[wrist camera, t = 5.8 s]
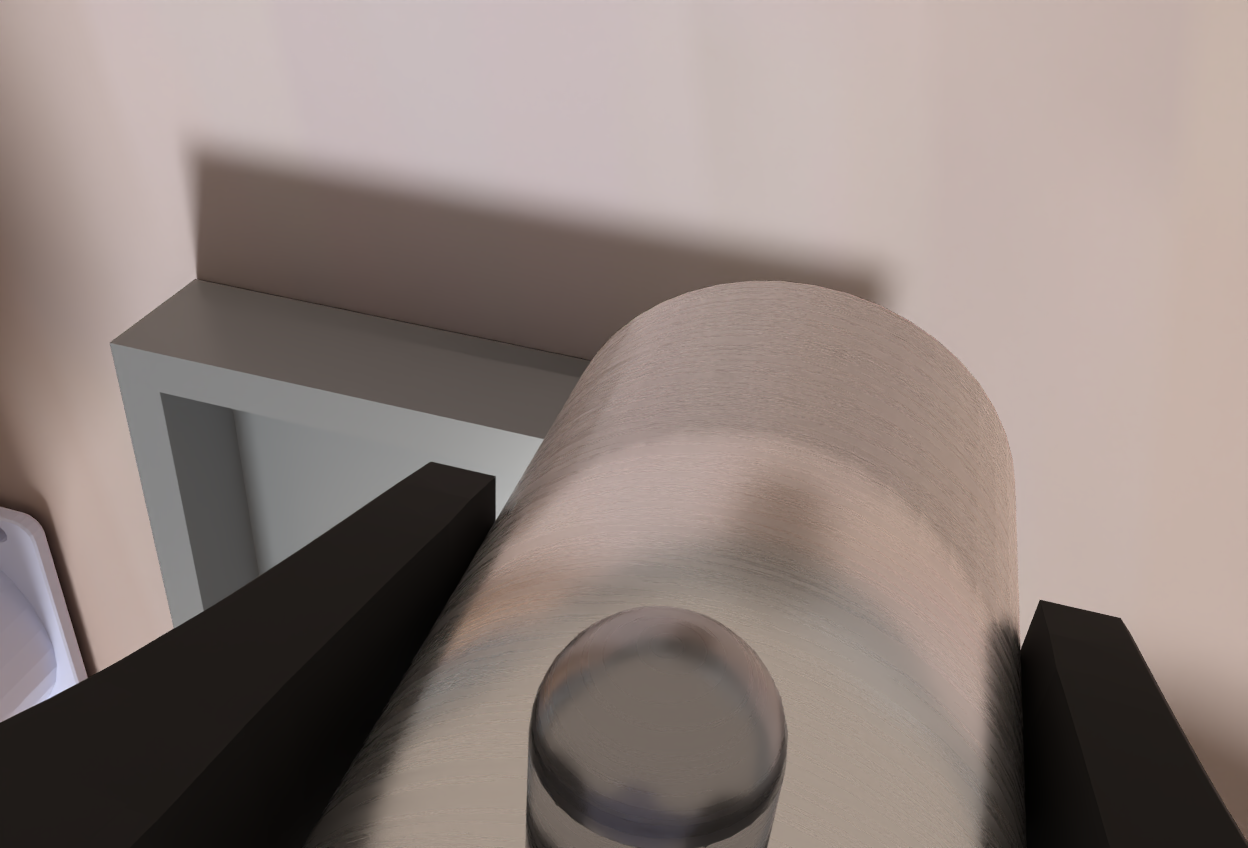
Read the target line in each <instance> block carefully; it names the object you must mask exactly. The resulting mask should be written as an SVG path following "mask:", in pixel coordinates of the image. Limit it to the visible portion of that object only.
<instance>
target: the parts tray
mask: <svg viewBox="0 0 1248 848" xmlns="http://www.w3.org/2000/svg"><path fill="white" fill-rule="evenodd" d="M110 346H111V351H112V355H113V360H114V364H115V369H116V373H117V378H118V382H119V387H120V391H121V395H122V400H123V404H124V409H125V413H126V418H127V422H128V427H129V431H130V435H131V440H132V444H133V449H134V453H135V458H136V462H137V467H138V471H139V476H140V480H141V484H142V489H143V493H144V498H145V502H146V507H147V511H148V516H149V520H150V524H151V529H152V533H153V538H154V542H155V547H156V551H157V556H158V560H159V565H160V569H161V573H162V578H163V582H164V587H165V591H166V596H167V600H168V605H169V609H170V613H171V618H172V622H173V627H174V628H176V627H178V626H179V625H181V624H183V623H184V622H186V621H188V620H189V619H191V618H193V617H194V616H196V615H198V614H199V613H201V612H203V611H205V610H206V609H208V608H210V607H211V606H213V605H215V604H216V603H218V602H219V601H221V600H223V599H224V598H226V597H227V596H229V595H231V594H232V593H234V592H235V591H237V590H238V589H240V588H241V587H243V586H244V585H246V584H247V583H249V582H251V581H252V580H254V579H255V578H257V577H258V576H260V575H261V574H263V573H264V572H266V571H267V570H269V569H271V568H272V567H274V566H275V565H277V564H278V563H280V562H281V561H283V560H284V559H286V558H287V557H289V556H291V555H292V554H294V553H295V552H297V551H298V550H300V549H301V548H303V547H304V546H306V545H307V544H309V543H310V542H312V541H313V540H315V539H316V538H318V537H319V536H320V535H322V534H323V533H325V532H326V531H328V530H329V529H331V528H332V527H334V526H335V525H337V524H338V523H340V522H341V521H343V520H344V519H346V518H347V517H348V516H350V515H351V514H353V513H354V512H356V511H357V510H359V509H360V508H362V507H363V506H365V505H366V504H367V503H369V502H370V501H372V500H373V499H375V498H376V497H378V496H379V495H381V494H382V493H384V492H385V491H387V490H388V489H390V488H391V487H392V486H394V485H395V484H397V483H398V482H400V481H402V480H403V479H405V478H406V477H408V476H409V475H411V474H412V473H414V472H415V471H417V470H418V469H420V468H422V467H423V466H425V465H426V464H428V463H429V462H436V463H440V464H444V465H449V466H453V467H458V468H462V469H466V470H471V471H475V472H480V473H484V474H488V475H493V476H496V519H497V518H498V516H499V514H500V512H501V511H502V509H503V507H504V506H505V504H506V502H507V501H508V499H509V497H510V496H511V494H512V492H513V490H514V489H515V487H516V485H517V484H518V482H519V480H520V479H521V477H522V475H523V474H524V472H525V470H526V469H527V467H528V465H529V463H530V462H531V460H532V458H533V457H534V455H535V453H536V452H537V450H538V448H539V447H540V445H541V443H542V442H543V440H544V438H545V436H546V435H547V433H548V431H549V430H550V428H551V426H552V425H553V423H554V421H555V420H556V418H557V416H558V415H559V413H560V411H561V409H562V408H563V406H564V404H565V403H566V401H567V399H568V398H569V396H570V394H571V393H572V391H573V389H574V388H575V386H576V384H577V382H578V381H579V379H580V377H581V376H582V374H583V372H584V371H585V369H586V368H587V366H588V365H589V364H590V362H591V361H589V360H584V359H579V358H574V357H569V356H565V355H560V354H555V353H550V352H545V351H540V350H536V349H531V348H526V347H521V346H516V345H511V344H507V343H502V342H497V341H492V340H487V339H482V338H478V337H473V336H468V335H463V334H458V333H453V332H449V331H444V330H439V329H434V328H429V327H424V326H420V325H415V324H410V323H405V322H400V321H395V320H391V319H386V318H381V317H376V316H371V315H366V314H362V313H357V312H352V311H347V310H342V309H337V308H333V307H328V306H323V305H318V304H313V303H308V302H303V301H299V300H294V299H289V298H284V297H279V296H274V295H270V294H265V293H260V292H255V291H250V290H245V289H241V288H236V287H231V286H226V285H221V284H216V283H212V282H207V281H202V280H197V279H195V280H193V281H192V282H191V283H189V284H188V285H187V286H185V287H184V288H183V289H181V290H180V291H179V292H177V293H176V294H175V295H173V296H172V297H171V298H169V299H168V300H167V301H165V302H164V303H162V304H161V305H160V306H158V307H157V308H156V309H154V310H153V311H152V312H150V313H149V314H148V315H146V316H145V317H144V318H142V319H141V320H140V321H138V322H137V323H136V324H134V325H133V326H132V327H130V328H129V329H128V330H126V331H125V332H124V333H122V334H121V335H120V336H118V337H117V338H116V339H114V340H113V341H112V342H110Z"/></svg>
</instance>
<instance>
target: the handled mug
mask: <svg viewBox="0 0 1248 848" xmlns="http://www.w3.org/2000/svg"><path fill="white" fill-rule="evenodd" d="M302 848H1027V842H1026V810H1025V779H1024V747H1023V716H1022V684H1021V653H1020V621H1019V590H1018V559H1017V527H1016V496H1015V478H1014V467H1013V459H1012V455H1011V451H1010V447H1009V443H1008V440H1007V436H1006V433H1005V430H1004V428H1003V426H1002V424H1001V421H1000V419H999V417H998V414H997V412H996V410H995V408H994V406H993V405H992V403H991V401H990V400H989V398H988V397H987V395H986V393H985V392H984V390H983V389H982V387H981V386H980V384H979V383H978V381H977V380H976V379H975V378H974V377H973V376H972V374H971V373H970V372H969V371H968V370H967V369H966V367H965V366H964V365H963V364H962V363H961V362H960V360H959V359H958V358H956V357H955V356H954V355H953V354H952V353H951V352H950V351H949V350H948V349H946V348H945V347H944V346H943V345H942V344H941V343H940V342H939V341H937V340H936V339H935V338H934V337H932V336H931V335H929V334H928V333H926V332H925V331H924V330H922V329H921V328H919V327H918V326H916V325H915V324H913V323H912V322H910V321H909V320H907V319H905V318H903V317H901V316H900V315H898V314H896V313H894V312H892V311H890V310H888V309H886V308H884V307H882V306H880V305H878V304H875V303H873V302H870V301H867V300H865V299H862V298H859V297H857V296H854V295H851V294H849V293H845V292H841V291H837V290H833V289H829V288H825V287H821V286H817V285H810V284H802V283H794V282H786V281H744V282H735V283H727V284H718V285H714V286H710V287H706V288H702V289H698V290H694V291H690V292H687V293H684V294H682V295H679V296H677V297H674V298H672V299H669V300H667V301H664V302H661V303H660V304H658V305H656V306H654V307H653V308H651V309H649V310H647V311H645V312H644V313H642V314H640V315H638V316H637V317H635V318H634V319H633V320H631V321H630V322H629V323H628V324H626V325H625V326H624V327H622V328H621V329H620V330H619V331H617V332H616V333H615V334H614V335H613V336H612V337H611V338H610V339H609V340H608V341H607V342H606V343H605V344H604V345H603V347H602V348H601V349H600V350H599V351H598V352H597V353H596V355H595V356H594V358H593V359H592V361H591V362H590V364H589V365H588V366H587V368H586V369H585V371H584V372H583V374H582V376H581V377H580V379H579V381H578V382H577V384H576V386H575V388H574V389H573V391H572V393H571V394H570V396H569V398H568V399H567V401H566V403H565V404H564V406H563V408H562V409H561V411H560V413H559V415H558V416H557V418H556V420H555V421H554V423H553V425H552V426H551V428H550V430H549V431H548V433H547V435H546V436H545V438H544V440H543V442H542V443H541V445H540V447H539V448H538V450H537V452H536V453H535V455H534V457H533V458H532V460H531V462H530V463H529V465H528V467H527V469H526V470H525V472H524V474H523V475H522V477H521V479H520V480H519V482H518V484H517V485H516V487H515V489H514V490H513V492H512V494H511V496H510V497H509V499H508V501H507V502H506V504H505V506H504V507H503V509H502V511H501V512H500V514H499V516H498V518H497V519H496V521H495V523H494V524H493V526H492V528H491V529H490V531H489V533H488V534H487V536H486V538H485V539H484V541H483V543H482V545H481V546H480V548H479V550H478V551H477V553H476V555H475V556H474V558H473V560H472V561H471V563H470V565H469V566H468V568H467V570H466V572H465V573H464V575H463V577H462V578H461V580H460V582H459V583H458V585H457V587H456V588H455V590H454V592H453V593H452V595H451V597H450V599H449V600H448V602H447V604H446V605H445V607H444V609H443V610H442V612H441V614H440V615H439V617H438V619H437V620H436V622H435V624H434V626H433V627H432V629H431V631H430V632H429V634H428V636H427V637H426V639H425V641H424V642H423V644H422V646H421V647H420V649H419V651H418V653H417V654H416V656H415V658H414V659H413V661H412V663H411V664H410V666H409V668H408V669H407V671H406V673H405V674H404V676H403V678H402V680H401V681H400V683H399V685H398V686H397V688H396V690H395V691H394V693H393V695H392V696H391V698H390V700H389V701H388V703H387V705H386V707H385V708H384V710H383V712H382V713H381V715H380V717H379V718H378V720H377V722H376V723H375V725H374V727H373V729H372V730H371V732H370V734H369V735H368V737H367V739H366V740H365V742H364V744H363V745H362V747H361V749H360V750H359V752H358V754H357V756H356V757H355V759H354V761H353V762H352V764H351V766H350V767H349V769H348V771H347V772H346V774H345V776H344V777H343V779H342V781H341V783H340V784H339V786H338V788H337V789H336V791H335V793H334V794H333V796H332V798H331V799H330V801H329V803H328V804H327V806H326V808H325V810H324V811H323V813H322V815H321V816H320V818H319V820H318V821H317V823H316V825H315V826H314V828H313V830H312V831H311V833H310V835H309V837H308V838H307V840H306V842H305V843H304V845H303V847H302Z"/></svg>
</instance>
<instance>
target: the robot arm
mask: <svg viewBox="0 0 1248 848" xmlns="http://www.w3.org/2000/svg"><path fill="white" fill-rule="evenodd" d="M495 521H496V476H493V475H488V474H484V473H480V472H475V471H471V470H466V469H462V468H458V467H453V466H449V465H444V464H440V463H436V462H429V463H428V464H426V465H425V466H423V467H422V468H420V469H418V470H417V471H415V472H414V473H412V474H411V475H409V476H408V477H406V478H405V479H403V480H402V481H400V482H398V483H397V484H395V485H394V486H392V487H391V488H390V489H388V490H387V491H385V492H384V493H382V494H381V495H379V496H378V497H376V498H375V499H373V500H372V501H370V502H369V503H367V504H366V505H365V506H363V507H362V508H360V509H359V510H357V511H356V512H354V513H353V514H351V515H350V516H348V517H347V518H346V519H344V520H343V521H341V522H340V523H338V524H337V525H335V526H334V527H332V528H331V529H329V530H328V531H326V532H325V533H323V534H322V535H320V536H319V537H318V538H316V539H315V540H313V541H312V542H310V543H309V544H307V545H306V546H304V547H303V548H301V549H300V550H298V551H297V552H295V553H294V554H292V555H291V556H289V557H287V558H286V559H284V560H283V561H281V562H280V563H278V564H277V565H275V566H274V567H272V568H271V569H269V570H267V571H266V572H264V573H263V574H261V575H260V576H258V577H257V578H255V579H254V580H252V581H251V582H249V583H247V584H246V585H244V586H243V587H241V588H240V589H238V590H237V591H235V592H234V593H232V594H231V595H229V596H227V597H226V598H224V599H223V600H221V601H219V602H218V603H216V604H215V605H213V606H211V607H210V608H208V609H206V610H205V611H203V612H201V613H199V614H198V615H196V616H194V617H193V618H191V619H189V620H188V621H186V622H184V623H183V624H181V625H179V626H178V627H176V628H174V629H172V630H171V631H169V632H167V633H166V634H164V635H162V636H161V637H159V638H157V639H156V640H154V641H152V642H150V643H149V644H147V645H145V646H144V647H142V648H140V649H139V650H137V651H135V652H134V653H132V654H130V655H129V656H127V657H125V658H123V659H122V660H120V661H118V662H116V663H115V664H113V665H111V666H109V667H107V668H105V669H104V670H102V671H100V672H98V673H96V674H94V675H93V676H91V677H89V678H88V677H87V674H86V670H85V667H84V663H83V660H82V657H81V653H80V650H79V647H78V643H77V640H76V636H75V633H74V630H73V626H72V623H71V620H70V616H69V613H68V610H67V606H66V603H65V599H64V596H63V593H62V589H61V586H60V583H59V579H58V576H57V572H56V569H55V566H54V562H53V559H52V556H51V552H50V549H49V546H48V542H47V539H46V535H45V532H44V530H43V528H42V526H41V525H40V524H39V522H38V521H37V520H36V519H34V518H33V517H32V516H30V515H28V514H26V513H23V512H19V511H15V510H11V509H8V508H4V507H0V848H302V847H303V845H304V843H305V842H306V840H307V838H308V837H309V835H310V833H311V831H312V830H313V828H314V826H315V825H316V823H317V821H318V820H319V818H320V816H321V815H322V813H323V811H324V810H325V808H326V806H327V804H328V803H329V801H330V799H331V798H332V796H333V794H334V793H335V791H336V789H337V788H338V786H339V784H340V783H341V781H342V779H343V777H344V776H345V774H346V772H347V771H348V769H349V767H350V766H351V764H352V762H353V761H354V759H355V757H356V756H357V754H358V752H359V750H360V749H361V747H362V745H363V744H364V742H365V740H366V739H367V737H368V735H369V734H370V732H371V730H372V729H373V727H374V725H375V723H376V722H377V720H378V718H379V717H380V715H381V713H382V712H383V710H384V708H385V707H386V705H387V703H388V701H389V700H390V698H391V696H392V695H393V693H394V691H395V690H396V688H397V686H398V685H399V683H400V681H401V680H402V678H403V676H404V674H405V673H406V671H407V669H408V668H409V666H410V664H411V663H412V661H413V659H414V658H415V656H416V654H417V653H418V651H419V649H420V647H421V646H422V644H423V642H424V641H425V639H426V637H427V636H428V634H429V632H430V631H431V629H432V627H433V626H434V624H435V622H436V620H437V619H438V617H439V615H440V614H441V612H442V610H443V609H444V607H445V605H446V604H447V602H448V600H449V599H450V597H451V595H452V593H453V592H454V590H455V588H456V587H457V585H458V583H459V582H460V580H461V578H462V577H463V575H464V573H465V572H466V570H467V568H468V566H469V565H470V563H471V561H472V560H473V558H474V556H475V555H476V553H477V551H478V550H479V548H480V546H481V545H482V543H483V541H484V539H485V538H486V536H487V534H488V533H489V531H490V529H491V528H492V526H493V524H494V523H495ZM1020 653H1021V684H1022V716H1023V747H1024V779H1025V810H1026V842H1027V848H1248V842H1247V841H1246V839H1245V837H1244V836H1243V834H1242V833H1241V831H1240V829H1239V828H1238V826H1237V824H1236V823H1235V821H1234V819H1233V818H1232V816H1231V814H1230V813H1229V811H1228V809H1227V808H1226V806H1225V804H1224V803H1223V801H1222V799H1221V797H1220V796H1219V794H1218V792H1217V791H1216V789H1215V787H1214V785H1213V784H1212V782H1211V780H1210V778H1209V777H1208V775H1207V773H1206V771H1205V770H1204V768H1203V766H1202V764H1201V763H1200V761H1199V759H1198V757H1197V755H1196V754H1195V752H1194V750H1193V748H1192V746H1191V745H1190V743H1189V741H1188V739H1187V737H1186V736H1185V734H1184V732H1183V730H1182V728H1181V727H1180V725H1179V723H1178V721H1177V719H1176V718H1175V716H1174V714H1173V712H1172V710H1171V708H1170V707H1169V705H1168V703H1167V701H1166V699H1165V697H1164V695H1163V694H1162V692H1161V690H1160V688H1159V686H1158V684H1157V682H1156V681H1155V679H1154V677H1153V675H1152V673H1151V671H1150V669H1149V667H1148V666H1147V664H1146V662H1145V660H1144V658H1143V656H1142V654H1141V652H1140V651H1139V649H1138V647H1137V645H1136V643H1135V641H1134V639H1133V637H1132V636H1131V634H1130V632H1129V630H1128V629H1127V627H1126V626H1125V624H1124V623H1123V621H1122V620H1121V618H1118V617H1113V616H1109V615H1104V614H1100V613H1096V612H1091V611H1087V610H1082V609H1078V608H1074V607H1069V606H1065V605H1060V604H1056V603H1052V602H1047V601H1043V600H1040V601H1039V604H1038V606H1037V609H1036V611H1035V614H1034V617H1033V619H1032V622H1031V624H1030V627H1029V630H1028V632H1027V635H1026V637H1025V640H1024V643H1023V645H1022V648H1021V650H1020Z"/></svg>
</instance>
